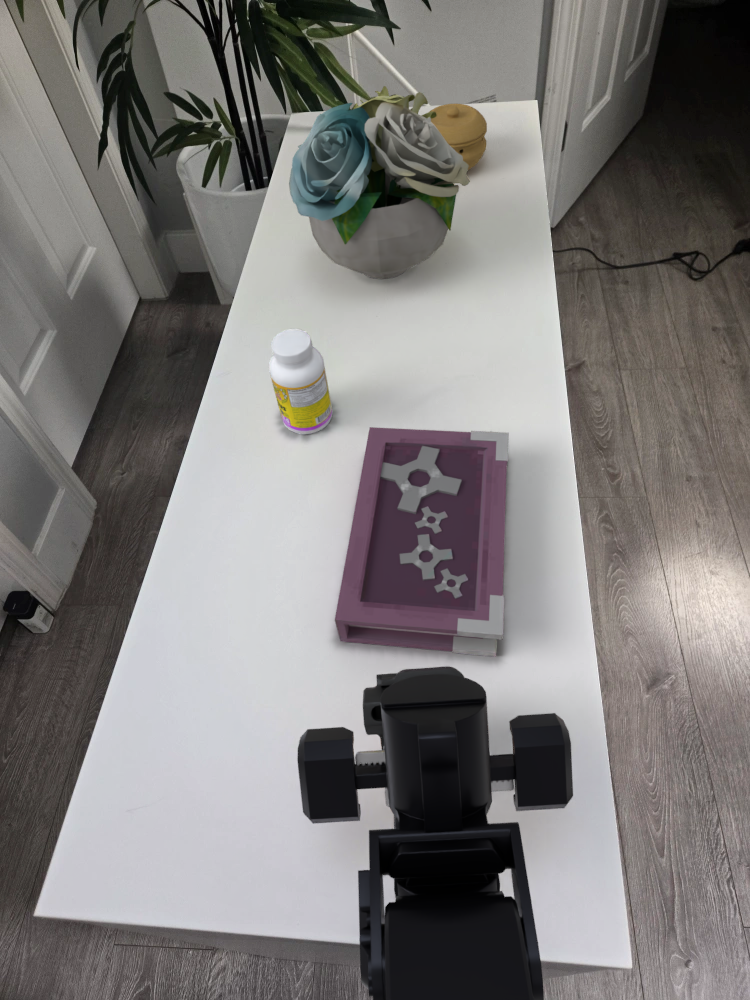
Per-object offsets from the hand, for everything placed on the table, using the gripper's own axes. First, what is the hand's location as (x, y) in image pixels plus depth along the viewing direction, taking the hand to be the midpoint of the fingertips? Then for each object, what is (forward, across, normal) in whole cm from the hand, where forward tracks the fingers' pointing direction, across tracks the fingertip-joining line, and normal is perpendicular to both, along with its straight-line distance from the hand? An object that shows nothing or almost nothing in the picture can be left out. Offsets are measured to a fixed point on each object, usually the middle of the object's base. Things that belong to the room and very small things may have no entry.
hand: (428, 714), depth 58 cm
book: (+23, -2, -9) cm, 25 cm away
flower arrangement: (+60, +1, -45) cm, 75 cm away
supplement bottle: (+38, +12, -23) cm, 46 cm away
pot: (+79, -13, -64) cm, 103 cm away
